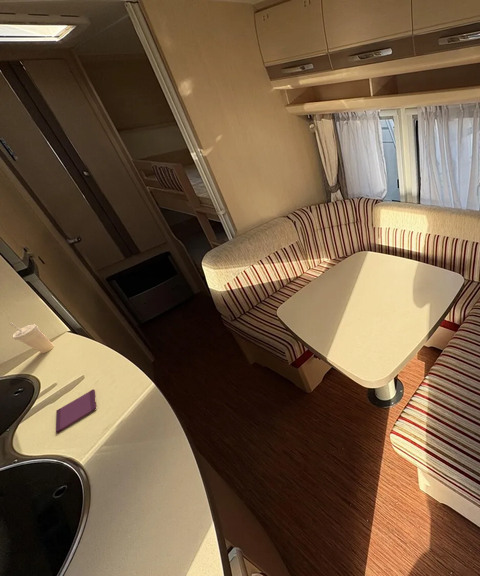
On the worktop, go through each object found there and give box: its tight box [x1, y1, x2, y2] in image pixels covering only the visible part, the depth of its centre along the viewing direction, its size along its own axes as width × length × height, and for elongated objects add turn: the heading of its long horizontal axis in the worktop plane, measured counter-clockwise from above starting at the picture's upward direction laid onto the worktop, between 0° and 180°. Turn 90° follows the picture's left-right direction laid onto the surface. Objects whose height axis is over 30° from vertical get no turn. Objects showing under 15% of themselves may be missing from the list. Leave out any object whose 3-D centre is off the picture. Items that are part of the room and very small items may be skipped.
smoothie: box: [9, 322, 55, 354], centre depth 106 cm, size 6×6×14 cm
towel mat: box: [55, 388, 97, 434], centre depth 86 cm, size 9×9×1 cm
